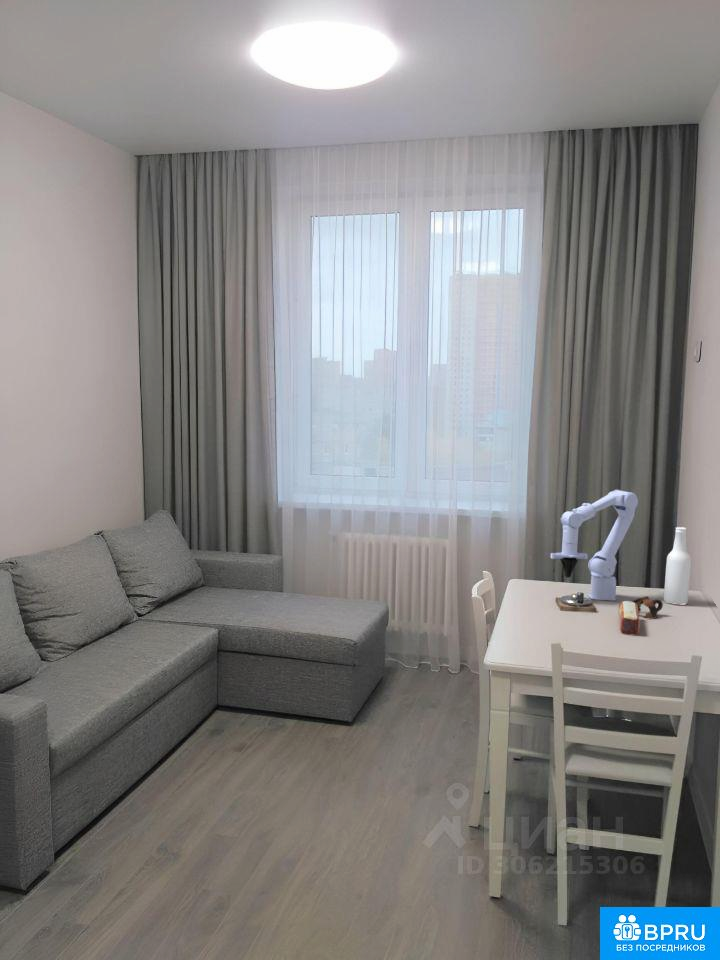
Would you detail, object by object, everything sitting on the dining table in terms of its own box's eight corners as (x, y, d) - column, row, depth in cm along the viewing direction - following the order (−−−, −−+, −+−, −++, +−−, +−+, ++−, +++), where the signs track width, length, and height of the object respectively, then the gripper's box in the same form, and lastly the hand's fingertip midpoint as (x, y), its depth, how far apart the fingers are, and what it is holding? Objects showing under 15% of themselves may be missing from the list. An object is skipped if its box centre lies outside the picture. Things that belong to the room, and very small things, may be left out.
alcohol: (660, 599, 308) (666, 525, 305) (683, 600, 308) (689, 526, 304) (667, 605, 300) (673, 529, 296) (690, 606, 299) (696, 530, 296)
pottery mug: (641, 621, 278) (632, 599, 280) (631, 625, 287) (622, 604, 289) (671, 612, 280) (662, 590, 282) (660, 617, 289) (651, 595, 291)
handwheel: (556, 598, 298) (557, 586, 298) (584, 598, 299) (585, 586, 298) (566, 606, 287) (567, 593, 286) (595, 606, 288) (596, 594, 287)
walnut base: (589, 603, 299) (589, 599, 299) (596, 612, 286) (596, 608, 286) (555, 601, 300) (555, 597, 300) (560, 610, 287) (560, 606, 287)
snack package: (639, 636, 259) (640, 617, 258) (618, 634, 261) (619, 614, 260) (637, 619, 279) (638, 601, 278) (618, 617, 281) (619, 599, 280)
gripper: (556, 544, 295) (554, 579, 296) (592, 544, 297) (589, 579, 298) (549, 541, 302) (547, 574, 303) (584, 541, 304) (581, 574, 305)
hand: (567, 576), depth 301 cm, fingers closed
